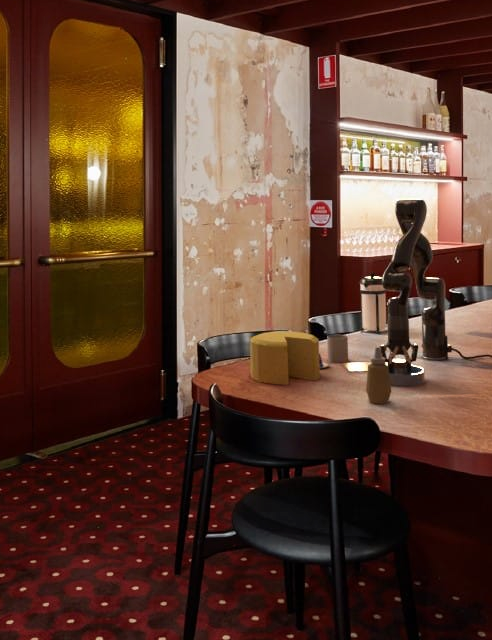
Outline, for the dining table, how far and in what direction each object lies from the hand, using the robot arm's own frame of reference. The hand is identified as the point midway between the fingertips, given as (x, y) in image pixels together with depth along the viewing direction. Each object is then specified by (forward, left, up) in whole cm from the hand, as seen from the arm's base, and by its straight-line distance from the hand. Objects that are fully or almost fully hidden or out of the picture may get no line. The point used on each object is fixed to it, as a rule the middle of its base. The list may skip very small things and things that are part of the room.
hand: (399, 373), depth 262 cm
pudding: (+27, -27, -3) cm, 38 cm away
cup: (+15, -37, -3) cm, 40 cm away
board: (+5, -21, -3) cm, 22 cm away
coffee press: (-16, -101, -3) cm, 103 cm away
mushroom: (0, 0, -1) cm, 1 cm away
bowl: (0, 0, -3) cm, 3 cm away
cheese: (+40, -13, -3) cm, 42 cm away
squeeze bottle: (+14, +25, -3) cm, 29 cm away
